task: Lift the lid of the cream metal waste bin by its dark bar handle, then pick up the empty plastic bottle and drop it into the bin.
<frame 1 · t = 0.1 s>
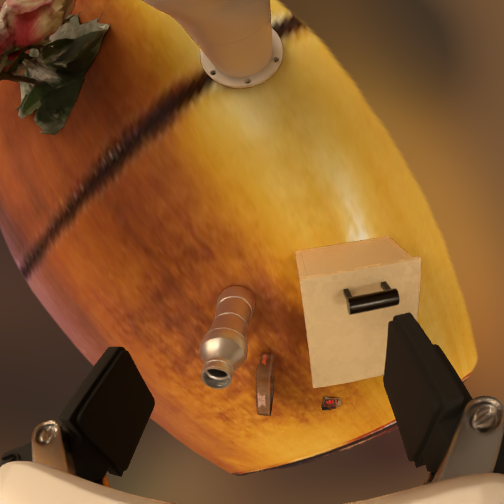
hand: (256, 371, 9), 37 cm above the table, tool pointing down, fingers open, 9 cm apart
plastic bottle: (237, 297, 50), on the table
rose bouquet: (52, 62, 37), on the table
bin: (346, 292, 48), on the table
tin: (266, 371, 56), on the table
matchbox: (331, 402, 58), on the table
bin lid: (368, 340, 34), point 15 cm above the table, hinge at 0.0°
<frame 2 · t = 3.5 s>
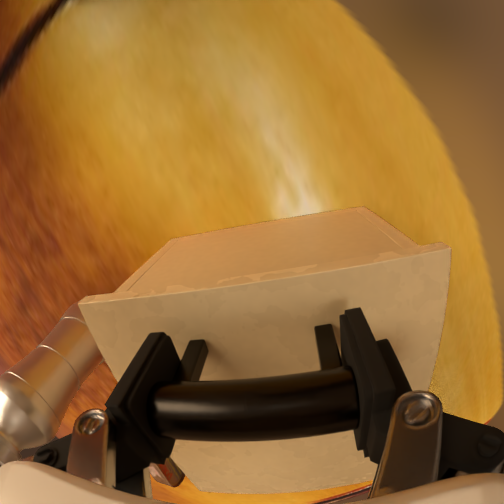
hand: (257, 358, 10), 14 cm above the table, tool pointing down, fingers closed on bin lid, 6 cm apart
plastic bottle: (102, 317, 28), on the table
bin: (283, 319, 25), on the table
tin: (173, 424, 33), on the table
bin lid: (282, 463, 11), point 15 cm above the table, hinge at 0.0°, touching gripper
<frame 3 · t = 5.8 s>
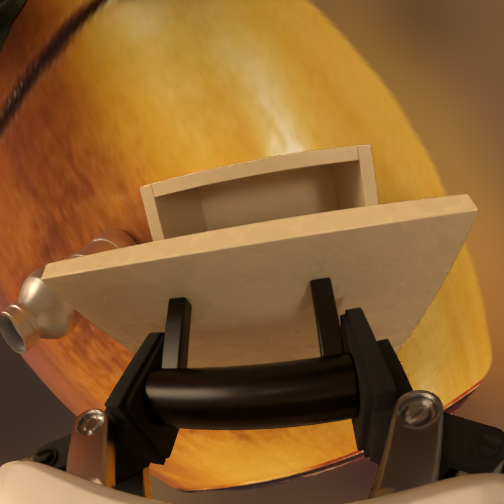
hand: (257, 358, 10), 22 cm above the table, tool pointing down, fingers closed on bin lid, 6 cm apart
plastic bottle: (123, 250, 34), on the table
bin: (276, 241, 32), on the table
bin lid: (277, 388, 14), point 19 cm above the table, hinge at 32.8°, touching gripper
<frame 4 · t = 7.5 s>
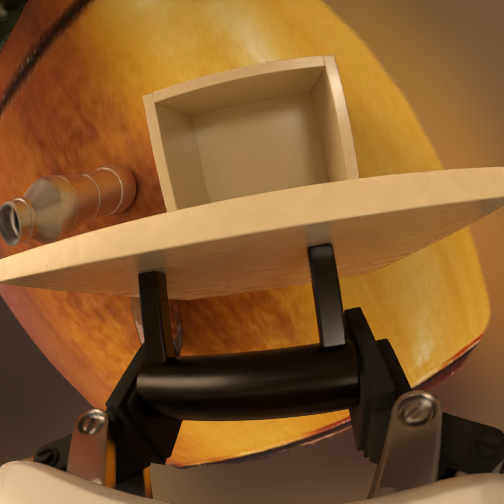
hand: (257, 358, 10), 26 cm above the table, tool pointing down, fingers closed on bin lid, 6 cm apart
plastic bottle: (122, 186, 35), on the table
rose bouquet: (5, 4, 22), on the table
bin: (264, 168, 33), on the table
tin: (169, 304, 41), on the table
bin lid: (267, 316, 14), point 22 cm above the table, hinge at 60.7°, touching gripper
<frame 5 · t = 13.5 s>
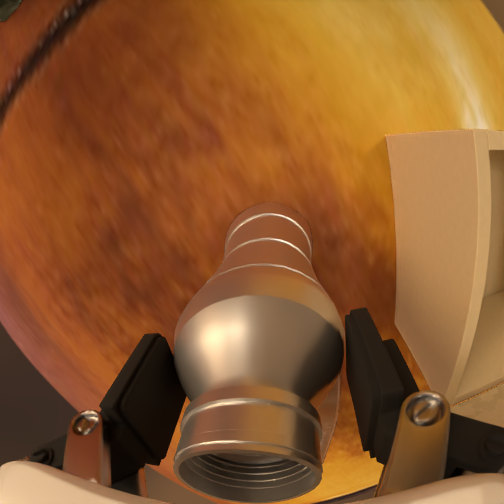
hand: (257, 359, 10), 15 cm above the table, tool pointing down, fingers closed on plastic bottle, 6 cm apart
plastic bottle: (269, 236, 24), on the table, touching gripper
bin: (464, 227, 22), on the table
tin: (313, 385, 29), on the table
when the fingers open (25 cm above the table, at t = 19.8 s): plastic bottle drops 9 cm, resting on bin.
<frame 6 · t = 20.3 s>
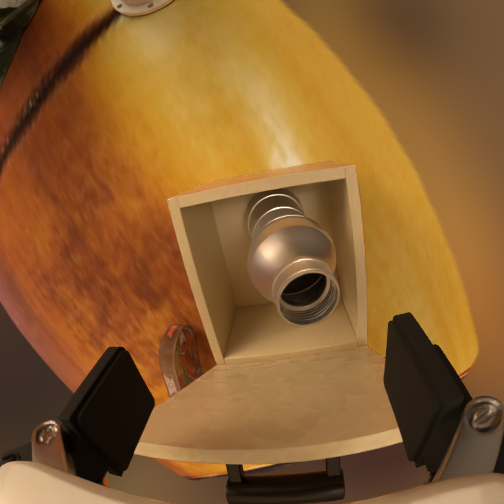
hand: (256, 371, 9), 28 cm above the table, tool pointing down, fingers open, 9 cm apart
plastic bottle: (271, 211, 34), point 1 cm above the table, touching bin
rose bouquet: (1, 32, 26), on the table
bin: (278, 241, 37), on the table
tin: (189, 351, 44), on the table
bin lid: (290, 417, 18), point 22 cm above the table, hinge at 61.1°
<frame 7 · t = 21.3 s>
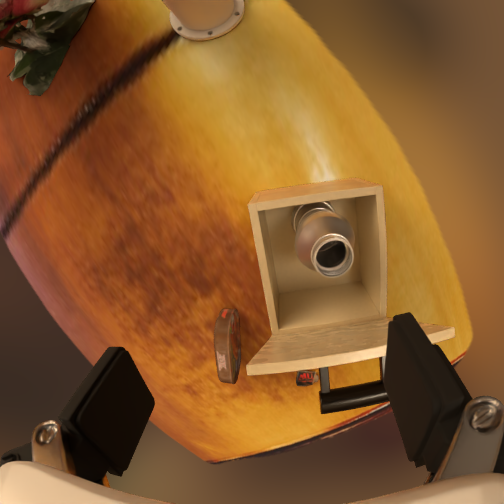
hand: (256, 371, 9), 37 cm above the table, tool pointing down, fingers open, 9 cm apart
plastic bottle: (311, 215, 43), point 1 cm above the table, touching bin
rose bouquet: (44, 34, 35), on the table
bin: (314, 239, 45), on the table
tin: (232, 333, 53), on the table
matchbox: (307, 376, 55), on the table
bin lid: (343, 360, 27), point 22 cm above the table, hinge at 61.1°
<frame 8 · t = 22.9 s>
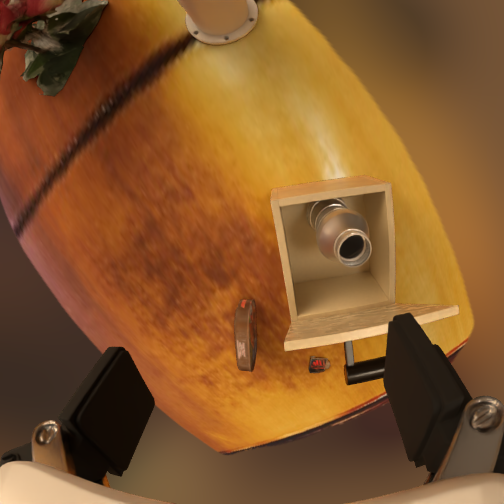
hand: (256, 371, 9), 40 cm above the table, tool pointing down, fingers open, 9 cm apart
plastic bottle: (324, 210, 46), point 1 cm above the table, touching bin
rose bouquet: (55, 35, 37), on the table
bin: (326, 232, 48), on the table
tin: (248, 323, 56), on the table
matchbox: (319, 363, 58), on the table
bin lid: (360, 340, 30), point 22 cm above the table, hinge at 61.1°
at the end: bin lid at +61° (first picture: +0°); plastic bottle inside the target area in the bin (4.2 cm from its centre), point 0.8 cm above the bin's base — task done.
